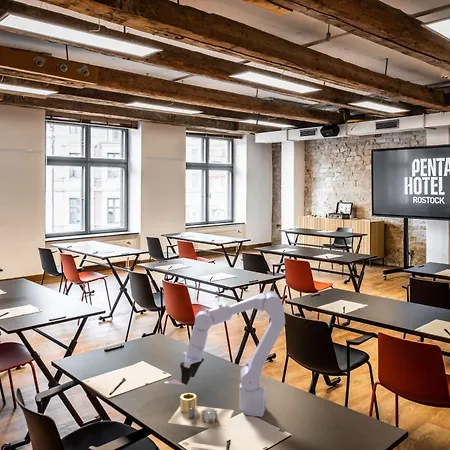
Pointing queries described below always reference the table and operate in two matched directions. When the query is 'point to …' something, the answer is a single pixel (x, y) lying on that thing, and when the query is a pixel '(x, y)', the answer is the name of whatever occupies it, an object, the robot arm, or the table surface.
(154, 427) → the table surface
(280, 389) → the table surface
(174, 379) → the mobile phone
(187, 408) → the octagonal wooden pipe
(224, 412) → the plate
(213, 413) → the sun gear
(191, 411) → the pin
